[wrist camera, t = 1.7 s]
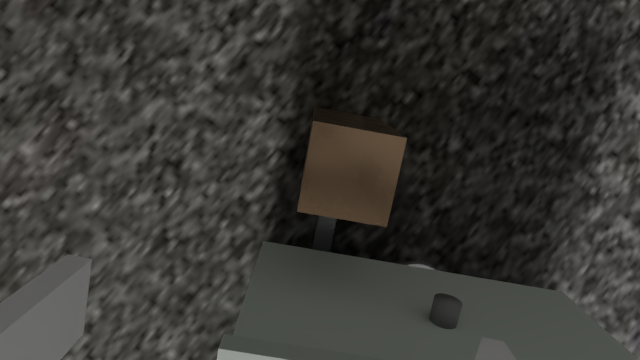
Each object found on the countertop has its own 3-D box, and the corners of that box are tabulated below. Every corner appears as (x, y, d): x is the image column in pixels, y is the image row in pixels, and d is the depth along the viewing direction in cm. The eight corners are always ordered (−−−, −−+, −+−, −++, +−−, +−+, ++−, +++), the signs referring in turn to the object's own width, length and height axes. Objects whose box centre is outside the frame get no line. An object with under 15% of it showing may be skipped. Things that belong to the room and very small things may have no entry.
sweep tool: (314, 106, 31) (313, 120, 21) (378, 118, 31) (407, 138, 21) (278, 306, 34) (263, 398, 24) (337, 315, 34) (345, 410, 25)
